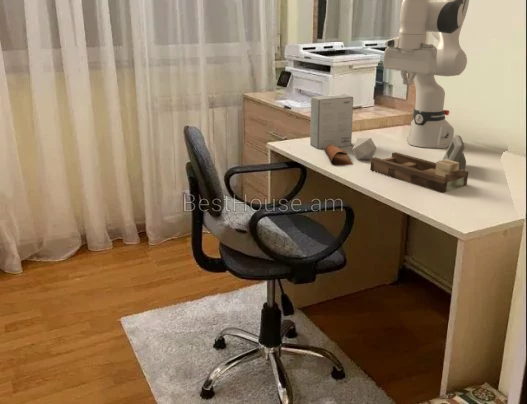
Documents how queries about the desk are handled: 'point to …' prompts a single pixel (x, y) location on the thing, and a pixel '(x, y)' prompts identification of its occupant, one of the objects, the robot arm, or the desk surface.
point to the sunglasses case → (337, 155)
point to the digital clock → (456, 152)
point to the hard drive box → (331, 120)
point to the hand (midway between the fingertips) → (407, 84)
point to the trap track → (418, 172)
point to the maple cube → (446, 167)
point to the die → (364, 148)
